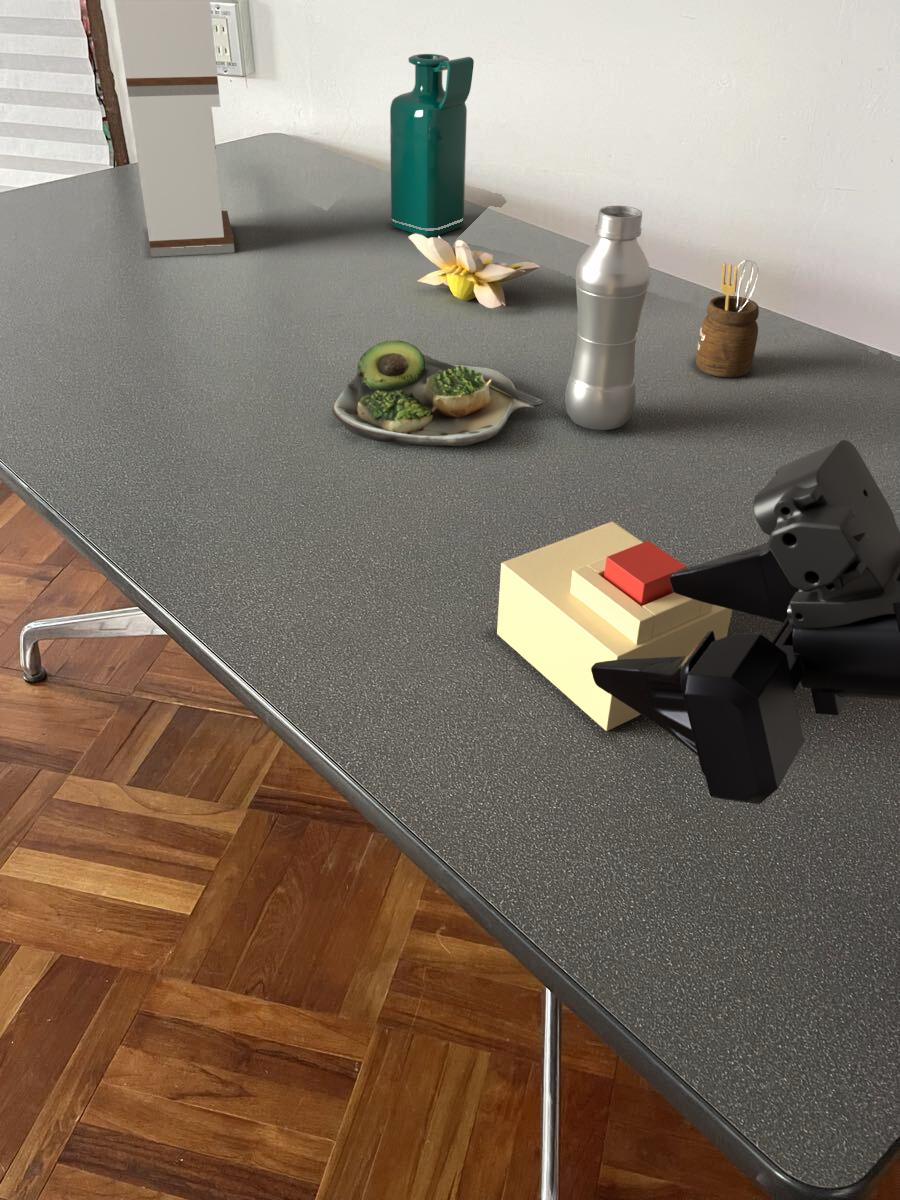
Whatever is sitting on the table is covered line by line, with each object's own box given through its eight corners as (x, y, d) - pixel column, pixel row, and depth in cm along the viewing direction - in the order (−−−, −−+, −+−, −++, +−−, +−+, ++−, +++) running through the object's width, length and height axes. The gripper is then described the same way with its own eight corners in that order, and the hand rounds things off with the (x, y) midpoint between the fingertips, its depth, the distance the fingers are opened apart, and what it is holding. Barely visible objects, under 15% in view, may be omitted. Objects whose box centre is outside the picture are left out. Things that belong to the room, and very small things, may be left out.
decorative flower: (564, 285, 128) (553, 205, 122) (503, 331, 123) (488, 250, 117) (473, 262, 137) (458, 187, 131) (413, 304, 132) (394, 228, 126)
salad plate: (555, 384, 110) (558, 342, 107) (521, 466, 96) (524, 420, 93) (375, 362, 114) (374, 320, 111) (317, 438, 100) (314, 392, 97)
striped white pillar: (234, 252, 141) (204, -59, 120) (151, 256, 139) (105, -59, 118) (228, 225, 150) (199, -69, 129) (150, 229, 148) (107, -69, 127)
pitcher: (385, 226, 151) (382, 53, 138) (424, 213, 156) (425, 45, 143) (437, 242, 146) (440, 64, 133) (476, 228, 151) (482, 55, 138)
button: (683, 589, 68) (687, 566, 67) (640, 607, 67) (644, 584, 66) (644, 562, 71) (648, 540, 70) (603, 579, 69) (606, 556, 68)
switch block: (718, 677, 73) (739, 582, 68) (606, 731, 69) (620, 633, 64) (603, 590, 81) (615, 499, 76) (496, 634, 77) (502, 540, 72)
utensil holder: (759, 365, 115) (781, 253, 108) (736, 385, 111) (758, 270, 104) (707, 351, 118) (726, 242, 111) (684, 370, 114) (702, 258, 107)
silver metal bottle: (636, 439, 101) (666, 224, 89) (565, 437, 101) (585, 222, 89) (627, 408, 106) (654, 201, 94) (559, 407, 106) (577, 199, 94)
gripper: (995, 375, 48) (676, 409, 58) (880, 569, 35) (496, 571, 45) (1016, 593, 52) (716, 590, 62) (921, 836, 40) (563, 785, 49)
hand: (635, 625), depth 54 cm, fingers open, 9 cm apart
